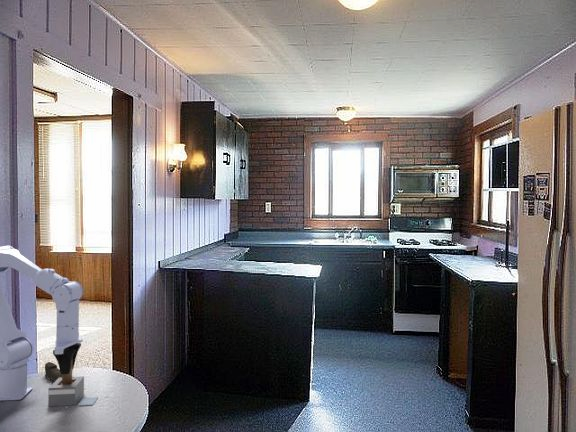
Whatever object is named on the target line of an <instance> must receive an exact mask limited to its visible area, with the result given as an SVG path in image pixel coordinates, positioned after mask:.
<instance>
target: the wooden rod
mask: <svg viewBox="0 0 576 432" xmlns="http://www.w3.org/2000/svg"><path fill="white" fill-rule="evenodd" d="M72 361H73V358H72ZM72 377H73V370H72V362H71V369H70V373H69V374H62V385H70V384H72Z"/></svg>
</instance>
